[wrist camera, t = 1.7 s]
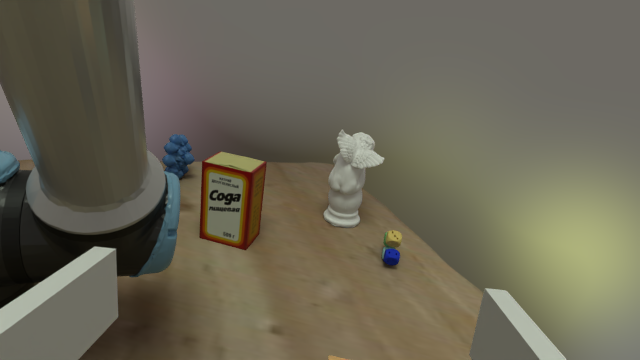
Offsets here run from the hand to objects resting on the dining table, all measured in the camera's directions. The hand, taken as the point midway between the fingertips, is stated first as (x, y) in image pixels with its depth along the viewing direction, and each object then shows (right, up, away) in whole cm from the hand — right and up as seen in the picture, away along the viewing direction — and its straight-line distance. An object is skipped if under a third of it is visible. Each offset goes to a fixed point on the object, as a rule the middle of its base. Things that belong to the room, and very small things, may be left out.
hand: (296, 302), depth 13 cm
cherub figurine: (+7, -6, +72) cm, 73 cm away
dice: (+14, -12, +60) cm, 63 cm away
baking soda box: (-17, -7, +60) cm, 62 cm away
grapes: (-34, +4, +80) cm, 87 cm away
